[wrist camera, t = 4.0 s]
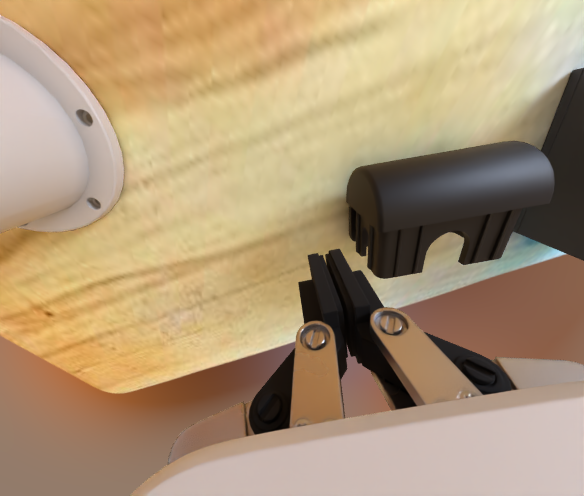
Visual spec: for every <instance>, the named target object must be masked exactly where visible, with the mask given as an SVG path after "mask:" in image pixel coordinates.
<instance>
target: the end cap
mask: <svg viewBox="0 0 584 496" xmlns="http://www.w3.org/2000/svg"><path fill="white" fill-rule="evenodd" d="M554 185H555V178H554V171H553V168H552V166H551V163H550V161H549V160H548V158H547V157H546V156H545V155H544V153H543V152H541V151H540V150H539V149H537V148H536V147H534V146H532V145H530V144H527V143H524V142H518V141H507V142H499V143H494V144H488V145H482V146H476V147H471V148H465V149H459V150H453V151H447V152H442V153H436V154H430V155H424V156H419V157H413V158H407V159H401V160H396V161H390V162H384V163H378V164H373V165H367V166H361V167H359V168H356V169H355V170H354V171H353V173H352V174H351V176H350V179H349V182H348V186H347V194H346V202H347V203H348V204H349V235H350V238H351V239H352V240H353V241H356V252H357V253H359V254H360V256H366V247H367V246H368V264H367V267H368V268H369V269H370V270H371V271H372V272H373V274H374V275H375V276H377V277H379V278H383V279H386V278H393V277H398V276H404V275H410V274H415V273H421V272H422V269H423V265H424V260H425V255H426V252H427V250H428V248H429V246H430V245H431V244H432V243H433V242H434V241H435V240H436V239H437V238H438V237H440V236H441V235H443V234H445V233H448V232H454V233H456V234H458V235H460V236H461V237H463V238H464V245H463V248H462V251H461V254H460V257H459V260H458V262H460V263H461V264H462V265H467V264H472V263H478V262H484V261H489V260H495V259H499V258H501V257H502V254H503V252H504V250H505V247H506V245H507V243H508V241H509V238H510V236H511V234H512V231H513V229H514V227H515V225H516V222H517V220H518V218H519V215H520V213H521V211H522V208H526V207H532V206H538V205H544V204H549V203H550V201H551V198H552V195H553V193H554Z"/></svg>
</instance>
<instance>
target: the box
mask: <svg viewBox="0 0 584 496" xmlns="http://www.w3.org/2000/svg"><path fill="white" fill-rule="evenodd" d="M541 152H543V153H544V155H545V156H546V157H547V158H548V160H549V161H550V163H551V166H552V168H553V171H554V178H555V185H554V193H553V195H552V198H551V201H550V203H549V204H544V205H538V206H532V207H526V208H522V211H521V213H520V215H519V218H518V220H517V222H516V225H515V227H514V229H513V232H516V233H518V234H521V235H523V236H526V237H528V238H530V239H533V240H535V241H538V242H540V243H542V244H545V245H547V246H550V247H552V248H554V249H557V250H559V251H562V252H564V253H567V254H569V255H571V256H574V257H576V258H579V259H581V260H583V261H584V68H581V69H577V70H573V71H572V74H571V76H570V79H569V82H568V84H567V87H566V89H565V92H564V94H563V97H562V100H561V102H560V105H559V107H558V110H557V113H556V115H555V118H554V120H553V123H552V125H551V128H550V131H549V133H548V136H547V138H546V141H545V144H544V146H543V149H542V151H541Z"/></svg>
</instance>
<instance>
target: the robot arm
mask: <svg viewBox="0 0 584 496" xmlns="http://www.w3.org/2000/svg"><path fill="white" fill-rule="evenodd" d="M91 117H92V118H91ZM123 180H124V165H123V158H122V152H121V149H120V146H119V143H118V140H117V137H116V134H115V131H114V129H113V127H112V125H111V123H110V121H109V119H108V117H107V115H106V113H105V111H104V110H103V108H102V107H101V105H100V104H99V102H98V101H97V99H96V98H95V97H94V95H93V94H92V92H91V91H90V89H89V88H88V87H87V86H86V84H85V83H84V82H83V81H82V80H81V79H80V78H79V76H78V75H77V74H76V73H75V72H74V71H73V70H72V68H71V67H70V66H69V65H68V64H67V63H66V62H65V61H63V60H62V59H61V58H60V57H59V56H58V55H57V54H56V53H55V52H54V51H52V50H51V49H50V48H49V47H48V46H47V45H46V44H45V43H43V42H42V41H41V40H39V39H38V38H36V37H35V36H33V35H32V34H31V33H29V32H28V31H26V30H25V29H24V28H22V27H21V26H19V25H18V24H17V23H15V22H13V21H11V20H9V19H7V18H5V17H3V16H2V15H0V233H3V232H5V231H8V230H10V229H13V228H16V227H18V228H22V229H28V230H33V231H39V232H64V231H72V230H76V229H79V228H82V227H85V226H88V225H90V224H92V223H93V222H95V221H97V220H99V219H101V218H102V217H103V216H105V215H106V214H107V213H108V212H110V211H111V210H112V208H113V207H114V205H115V204H116V202H117V201H118V199H119V197H120V194H121V191H122V188H123ZM325 256H326V263H325V260H324V258H323V255H320V256H319V255H318V253H316V254H311V255H308V260H309V265H310V271H311V276H312V280H307V281H302V282H298V283H299V290H300V297H301V304H302V311H303V317H304V325H303V326H301V327H300V329H299V330H298V332H297V335H296V344H295V348H294V350H293V351H292V352H291V353H290V355H289V356H288V357H287V358H286V359H285V361H284V362H283V363H282V364H281V365H280V367H279V368H278V369H277V370H276V372H275V373H274V374H273V375H272V376H271V377H270V379H269V380H268V381H267V382H266V384H265V385H264V386H263V387H262V389H261V390H260V391H259V392H258V393H257V395H256V396H255V398H254V399H253V400H252V401H250V402H248V403H246V404H244V402H241V403H239V404H237V405H235V406H233V407H230V408H228V409H226V410H224V411H221V412H219V413H217V414H215V415H213V416H211V417H208V418H206V419H204V420H202V421H199V422H197V423H195V424H193V425H191V426H189V427H188V428H186V429H185V430H184V431H183V432H182V433H181V434H180V435H179V436H178V437H177V439H176V441H175V442H174V444H173V446H172V448H171V452H170V455H169V458H168V464H167V466H165V467H164V468H162V469H161V470H160V471H158V472H157V473H155V475H153V476H151V477H150V478H149V479H148V480H146V481H145V482H144V483H143V484H142V485H141V486H139V487H138V488H137V489H136V490H135V491H134V492H133V493H132V494H131V495H130V496H584V365H582V364H579V363H576V362H571V361H566V360H547V359H526V358H504V357H496V358H495V360H490V359H488V358H486V357H484V356H482V355H480V354H477V353H475V352H472V351H470V350H467V349H465V348H463V347H460V346H457V345H455V344H453V343H450V342H448V341H445V340H443V339H440V338H438V337H435V336H433V335H430V334H428V333H425V332H423V331H422V330H421V329H420V328H419V327H418V326H417V325H416V324H415V323H414V321H413V320H412V319H411V318H410V317H409V316H408V315H406V314H405V313H404V312H402V311H400V310H398V309H394V308H387V307H385V308H384V306H383V305H382V303H381V301H380V300H379V298H378V296H377V295H376V293H375V292H374V290H373V288H372V287H371V285H370V284H369V282H368V280H367V279H366V277H365V275H364V274H363V272H362V271H361V270H358V271H353V272H352V270H351V269H350V267H349V265H348V263H347V261H346V259H345V258H344V256H343V254H342V252H341V250H340V249H336V250H331V251H329V254H326V255H325ZM326 264H327V265H326ZM346 343H347V344H346ZM347 346H348V349H349V352H350V355H351V356H356V359H357V362H358V363H362V365H363V366H364V367H366V368H367V369H369V370H371V374H372V376H373V378H374V380H375V382H376V383H377V385H378V387H379V389H380V390H381V392H382V394H383V396H384V398H385V400H386V402H387V403H388V405H389V407H390V409H391V411H387V412H381V413H375V414H369V415H363V416H358V417H351V418H346V419H345V412H344V403H343V395H342V387H341V378H342V377H343V375H344V373H345V372H346V370H347V362H346V358H347V357H348V354H347Z"/></svg>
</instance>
